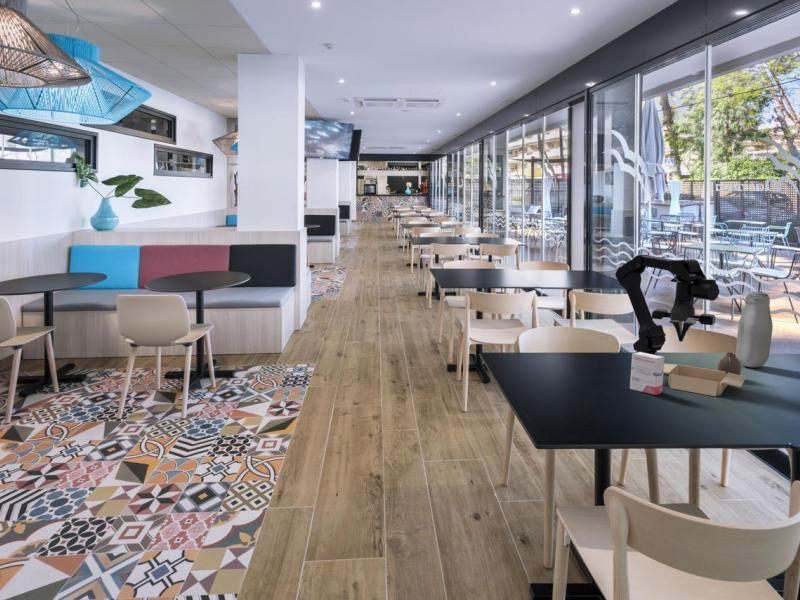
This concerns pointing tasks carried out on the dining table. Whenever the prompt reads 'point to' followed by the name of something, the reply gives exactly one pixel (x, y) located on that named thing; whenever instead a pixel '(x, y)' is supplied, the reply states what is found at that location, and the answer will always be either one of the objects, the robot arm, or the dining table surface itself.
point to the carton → (697, 380)
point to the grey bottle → (754, 331)
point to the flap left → (669, 368)
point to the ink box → (647, 373)
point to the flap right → (734, 379)
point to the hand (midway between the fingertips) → (680, 341)
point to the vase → (730, 364)
